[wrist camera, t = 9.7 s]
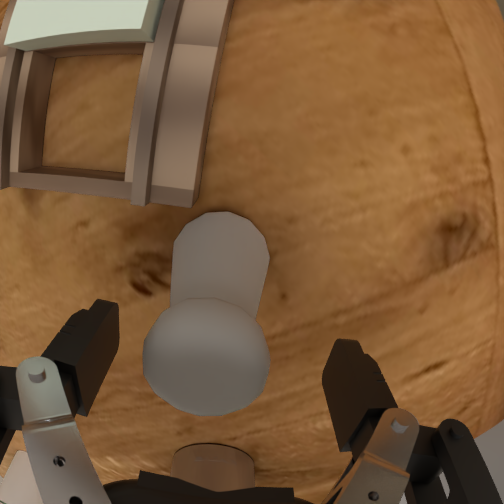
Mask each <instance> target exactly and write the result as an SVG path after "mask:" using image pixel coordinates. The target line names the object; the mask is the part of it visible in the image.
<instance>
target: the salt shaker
mask: <svg viewBox="0 0 504 504" xmlns="http://www.w3.org/2000/svg"><path fill="white" fill-rule="evenodd" d="M269 260H270V256H269V252H268V249H267V245H266V241H265V238H264V236H263V235H262V234H261V233H260V232H259V230H258V229H257V228H256V227H255V226H254V225H253V224H252V223H251V222H250V221H249V219H246V218H244V217H241V216H239V215H236V214H234V213H231V212H229V211H227V212H209V213H205V214H203V215H201V216H200V217H198V218H196V219H194V220H193V221H191V222H189V223H188V224H186V225H185V227H184V228H183V230H182V231H181V232H180V234H179V235H178V237H177V238H176V240H175V241H174V247H173V259H172V276H171V294H170V308H168V309H166V310H165V311H163V312H162V313H161V315H160V316H159V318H158V319H157V320H156V322H155V323H154V325H153V326H152V328H151V329H150V331H149V332H148V334H147V336H146V338H145V340H144V346H143V374H144V376H145V378H146V380H147V381H148V383H149V385H150V386H151V388H152V390H153V391H154V393H155V394H157V395H158V396H159V397H161V398H162V399H163V400H165V401H166V402H168V403H169V404H171V405H172V406H174V407H175V408H177V409H178V410H181V411H184V412H188V413H191V414H194V415H197V416H222V415H225V414H228V413H231V412H234V411H237V410H240V409H243V408H245V407H247V406H248V405H249V404H250V403H252V402H253V401H254V400H255V399H256V398H257V397H258V396H259V395H260V394H261V393H262V392H263V389H264V386H265V383H266V380H267V376H268V373H269V367H270V355H269V350H268V346H267V343H266V340H265V337H264V334H263V331H262V328H261V326H260V325H259V324H258V323H257V322H256V321H255V320H256V315H257V311H258V307H259V303H260V299H261V294H262V290H263V286H264V282H265V278H266V273H267V269H268V265H269Z"/></svg>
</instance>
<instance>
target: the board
mask: <svg viewBox="0 0 504 504" xmlns="http://www.w3.org/2000/svg"><path fill="white" fill-rule="evenodd" d="M16 2H17V0H10V1H9V4H8V7H7V10H6V13H5V17H4V20H3V23H2V27H1V30H0V190H1V189H4V188H7V187H19V188H29V189H39V190H49V191H59V192H68V193H77V194H86V195H95V196H103V197H112V198H120V199H128V200H131V205H139V206H145V205H147V204H148V203H149V202H151V203H159V204H166V205H173V206H180V207H188V208H192V206H193V205H194V203H195V202H196V200H197V199H198V197H199V189H200V182H201V175H202V168H203V161H204V155H205V148H206V142H207V136H208V130H209V124H210V118H211V112H212V106H213V101H214V95H215V90H216V84H217V79H218V74H219V69H220V64H221V59H222V54H223V49H224V44H225V39H226V35H227V30H228V25H229V21H230V16H231V12H232V8H233V3H234V0H165V1H164V4H163V8H162V12H161V16H160V19H159V23H158V27H157V31H156V36H155V40H154V42H143V41H135V42H102V43H87V44H75V45H65V46H57V47H49V48H42V49H36V50H30V51H24V50H21V49H17V48H13V47H9V46H5V45H4V42H5V38H6V35H7V31H8V27H9V24H10V20H11V17H12V14H13V11H14V8H15V5H16ZM106 54H143V59H142V64H141V69H140V74H139V79H138V85H137V90H136V96H135V102H134V108H133V115H132V121H131V128H130V136H129V144H128V152H127V162H126V172H125V173H120V172H110V171H99V170H88V169H76V168H62V167H48V166H42V153H43V140H44V129H45V120H46V112H47V105H48V98H49V91H50V85H51V80H52V74H53V69H54V64H55V60H56V58H61V57H72V56H85V55H106Z"/></svg>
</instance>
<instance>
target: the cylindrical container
mask: <svg viewBox="0 0 504 504" xmlns="http://www.w3.org/2000/svg"><path fill="white" fill-rule="evenodd" d="M0 504H43V501H42V499H41V496H40V493H39V490H38V487H37V484H36V481H35V478H34V475H33V471H32V468H31V465H30V461H29V457H28V454H27V452H25V451H22V450H18V451H17V452H16V454H15V456H14V458H13V460H12V462H11V464H10V466H9V468H8V470H7V472H6V474H5V476H4V479H3V481H2V483H1V485H0Z"/></svg>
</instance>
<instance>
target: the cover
mask: <svg viewBox="0 0 504 504" xmlns="http://www.w3.org/2000/svg"><path fill="white" fill-rule="evenodd" d="M164 1H165V0H17V2H16V5H15V8H14V11H13V14H12V17H11V20H10V24H9V27H8V31H7V35H6V38H5V42H4V45H5V46H9V47H13V48H17V49H21V50H24V51H30V50H36V49H42V48H49V47H57V46H65V45H75V44H87V43H102V42H135V41H143V42H154V40H155V36H156V31H157V27H158V23H159V19H160V16H161V12H162V8H163V4H164Z"/></svg>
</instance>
